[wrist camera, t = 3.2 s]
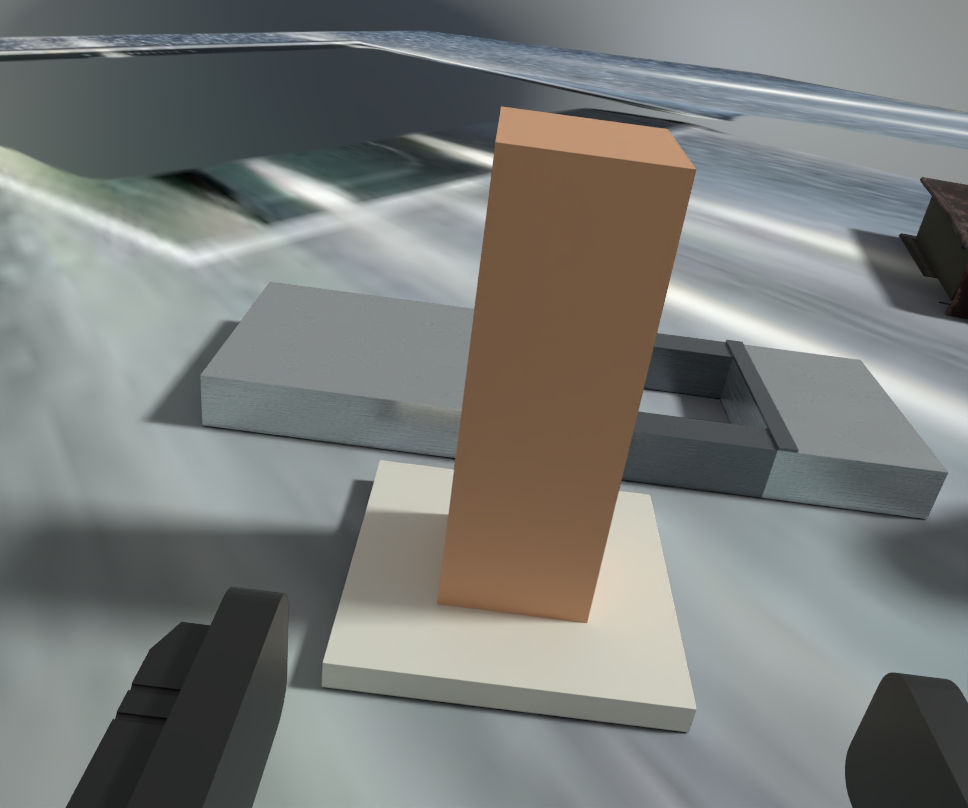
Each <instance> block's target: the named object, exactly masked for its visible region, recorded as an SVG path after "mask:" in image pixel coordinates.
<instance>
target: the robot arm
mask: <svg viewBox="0 0 968 808" xmlns="http://www.w3.org/2000/svg"><path fill="white" fill-rule="evenodd" d="M287 658H288V596H287V594H284V593H277V592H269V591H261V590H253V589H245V588H237V587H230V588H229V589H228V590H227V592H226V594H225V595H224V597H223V600H222V602H221V604H220V606H219V608H218V610H217V613H216V615H215V617H214V619H213V621H212V623H211V626H210V625H203V624H195V623H187V622H181V623H180V624H179V625H178V626H176V627H175V628H174V629H173V630H172V631H171V632H169V633H168V634H167V635H166V636H165V637H164V638H162V639H161V640H160V641H159V642H158V643H157V644H155V645H154V646H153V647H152V648H151V649H150V650H149V652H148V654H147V656H146V658H145V660H144V661H143V663H142V665H141V667H140V669H139V671H138V673H137V675H136V676H135V678H134V680H133V682H132V687H131V690H128V692H127V693H126V695H125V697H124V699H123V701H122V703H121V705H120V707H119V708H118V710H117V715H116V718H115V719H113V720H112V722H111V723H110V725H109V727H108V729H107V731H106V733H105V735H104V737H103V739H102V740H101V742H100V744H99V746H98V748H97V750H96V752H95V754H94V755H93V757H92V759H91V761H90V763H89V765H88V767H87V769H86V770H85V772H84V774H83V776H82V778H81V780H80V782H79V784H78V786H77V787H76V789H75V791H74V793H73V795H72V797H71V799H70V801H69V802H68V804H67V806H66V808H252V806H253V803H254V800H255V797H256V793H257V790H258V787H259V784H260V781H261V778H262V775H263V771H264V768H265V765H266V762H267V759H268V756H269V753H270V750H271V746H272V743H273V740H274V737H275V734H276V731H277V728H278V724H279V721H280V717H281V713H282V708H283V703H284V698H285V691H286V684H287ZM845 779H846V787H847V792H848V796H849V799H850V802H851V804H852V807H853V808H968V703H967V701H966V699H965V697H964V696H963V694H962V692H961V691H960V689H959V688H958V686H957V685H956V684H955V683H953V682H952V681H950V680H948V679H941V678H933V677H925V676H917V675H909V674H901V673H888V674H887V675H885V676H884V677H883V679H882V680H881V682H880V684H879V686H878V688H877V690H876V692H875V694H874V696H873V698H872V700H871V702H870V704H869V706H868V709H867V711H866V713H865V715H864V717H863V719H862V721H861V723H860V725H859V727H858V729H857V731H856V734H855V736H854V738H853V740H852V742H851V744H850V746H849V749H848V752H847V756H846V763H845Z"/></svg>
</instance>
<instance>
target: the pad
mask: <svg viewBox="0 0 968 808" xmlns="http://www.w3.org/2000/svg"><path fill="white" fill-rule="evenodd" d="M453 474H454V470H453V469H445V468H438V467H430V466H422V465H414V464H406V463H399V462H391V461H383V460H380V463H379V466H378V470H377V473H376V477H375V480H374V484H373V487H372V491H371V494H370V498H369V501H368V505H367V508H366V512H365V515H364V519H363V523H362V526H361V530H360V533H359V537H358V540H357V544H356V547H355V551H354V554H353V558H352V561H351V565H350V568H349V572H348V575H347V579H346V582H345V586H344V589H343V593H342V596H341V600H340V604H339V607H338V611H337V614H336V618H335V621H334V625H333V628H332V632H331V635H330V639H329V642H328V646H327V649H326V653H325V656H324V660H323V666H322V687H327V688H335V689H344V690H352V691H360V692H368V693H376V694H384V695H392V696H400V697H408V698H416V699H424V700H432V701H440V702H448V703H456V704H465V705H473V706H481V707H489V708H497V709H505V710H513V711H521V712H529V713H537V714H545V715H553V716H561V717H569V718H577V719H585V720H594V721H602V722H610V723H618V724H626V725H634V726H642V727H650V728H658V729H666V730H674V731H682V732H689V730H690V727H691V724H692V721H693V718H694V716H695V713H696V710H697V709H696V704H695V700H694V695H693V690H692V686H691V681H690V676H689V672H688V667H687V663H686V658H685V653H684V649H683V644H682V639H681V635H680V630H679V625H678V621H677V616H676V612H675V607H674V602H673V598H672V593H671V588H670V584H669V579H668V575H667V570H666V565H665V561H664V556H663V551H662V547H661V542H660V538H659V533H658V528H657V524H656V519H655V514H654V510H653V505H652V500H651V496H650V495H647V494H639V493H631V492H624V491H619V493H618V497H617V501H616V505H615V510H614V514H613V518H612V522H611V526H610V530H609V535H608V539H607V543H606V547H605V551H604V555H603V559H602V564H601V568H600V572H599V576H598V580H597V584H596V589H595V593H594V597H593V601H592V605H591V609H590V613H589V618H588V622H587V623H582V622H574V621H566V620H558V619H550V618H542V617H534V616H526V615H519V614H511V613H503V612H495V611H487V610H479V609H471V608H463V607H455V606H447V605H439V604H437V600H438V593H439V585H440V577H441V569H442V561H443V553H444V545H445V537H446V529H447V522H448V514H449V506H450V498H451V490H452V482H453Z"/></svg>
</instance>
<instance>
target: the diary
mask: <svg viewBox="0 0 968 808" xmlns="http://www.w3.org/2000/svg"><path fill="white" fill-rule="evenodd" d="M920 181H921V183H922V184H923V185H924V187H925V188H926V189H927V190H928V192H929V193H930V194H931V195H932V197H931V200H930V203H929V205H928V208H927V210H926V213H925V216H924V218H923V221H922V223H921V226H920V229H919V231H918V234H917V236H913V235H908V234H902V233H901V234H900V235H899V236H900V238H901V239H902V241H903V243H904V244H905V246H906V248H907V249H908V251H909V253H910V254H911V256H912V258H913V259H914V261H915V262H916V264H917V266H918V267H919V269H920V271H921V272H922V274H923V276H927V277H933V278H938V280H939V281H940V283H941V285H942V286H943V288H944V290H945V291H946V293H947V294H948V296H949V298H950V299H951V300H953V301H952V302H951V304H949V303H944V302H939V303H942V304H947V305H950V306H949V307H948V309H947V310H946V312H945V314H946V315H949V316H954V317H959V318H964V319H968V185H965V184H958V183H953V182H947V181H941V180H935V179H930V178H924V177H922V178H921V179H920Z"/></svg>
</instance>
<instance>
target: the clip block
mask: <svg viewBox="0 0 968 808" xmlns="http://www.w3.org/2000/svg"><path fill="white" fill-rule="evenodd" d="M695 173H696V168H695V167H694V165H693V164H692V163H691V161H690V160H689V158H688V157H687V156H686V154H685V153H684V151H683V150H682V149H681V147H680V146H679V144H678V143H677V142H676V140H675V139H674V137H673V136H672V135H671V133H670V132H669V130H668V129H662V128H654V127H647V126H640V125H632V124H625V123H618V122H610V121H603V120H596V119H589V118H581V117H574V116H567V115H559V114H552V113H545V112H537V111H530V110H522V109H515V108H508V107H501V112H500V119H499V124H498V130H497V137H496V143H495V151H494V159H493V167H492V174H491V182H490V190H489V198H488V206H487V214H486V222H485V230H484V238H483V245H482V253H481V261H480V269H479V277H478V285H477V293H476V301H475V309H474V316H473V324H472V332H471V340H470V348H469V356H468V364H467V372H466V380H465V387H464V395H463V403H462V411H461V419H460V427H459V435H458V443H457V451H456V458H455V466H454V474H453V482H452V490H451V498H450V506H449V514H448V522H447V529H446V537H445V545H444V553H443V561H442V569H441V577H440V585H439V593H438V600H437V604H439V605H447V606H455V607H463V608H471V609H479V610H487V611H495V612H503V613H511V614H519V615H526V616H534V617H542V618H550V619H558V620H566V621H574V622H582V623H587V622H588V618H589V613H590V609H591V605H592V601H593V597H594V593H595V589H596V584H597V580H598V576H599V572H600V568H601V564H602V559H603V555H604V551H605V547H606V543H607V539H608V535H609V530H610V526H611V522H612V518H613V514H614V510H615V505H616V501H617V497H618V493H619V489H620V485H621V480H622V476H623V472H624V468H625V464H626V460H627V456H628V451H629V447H630V443H631V439H632V435H633V431H634V426H635V422H636V418H637V414H638V410H639V406H640V401H641V397H642V393H643V389H644V385H645V381H646V377H647V372H648V368H649V364H650V360H651V356H652V352H653V347H654V343H655V339H656V335H657V331H658V327H659V323H660V318H661V314H662V310H663V306H664V302H665V298H666V293H667V289H668V285H669V281H670V277H671V273H672V268H673V264H674V260H675V256H676V252H677V248H678V244H679V239H680V235H681V231H682V227H683V223H684V219H685V214H686V210H687V206H688V202H689V198H690V194H691V189H692V185H693V181H694V177H695Z"/></svg>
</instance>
